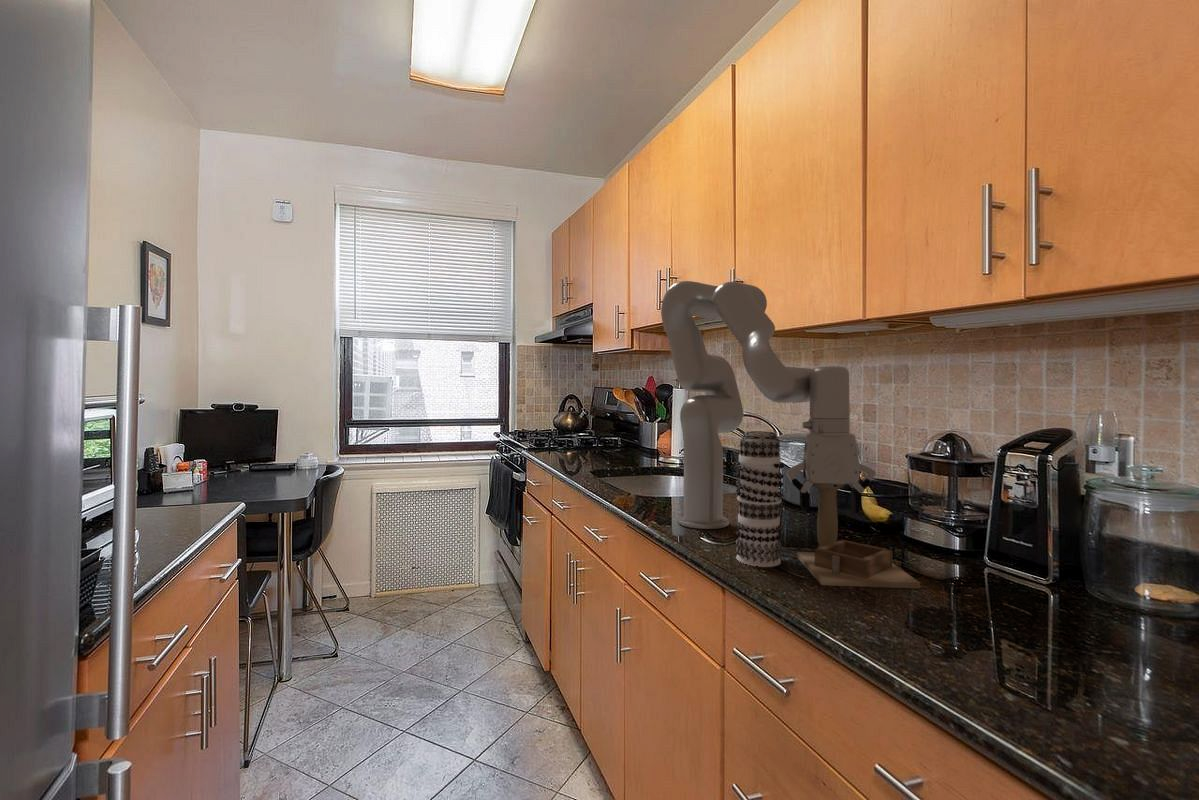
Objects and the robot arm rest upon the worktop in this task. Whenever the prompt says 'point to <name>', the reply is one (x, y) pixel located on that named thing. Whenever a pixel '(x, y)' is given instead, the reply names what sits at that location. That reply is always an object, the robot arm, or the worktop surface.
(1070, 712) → the worktop surface
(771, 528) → the decorative candle
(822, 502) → the handle
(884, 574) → the socket plate
